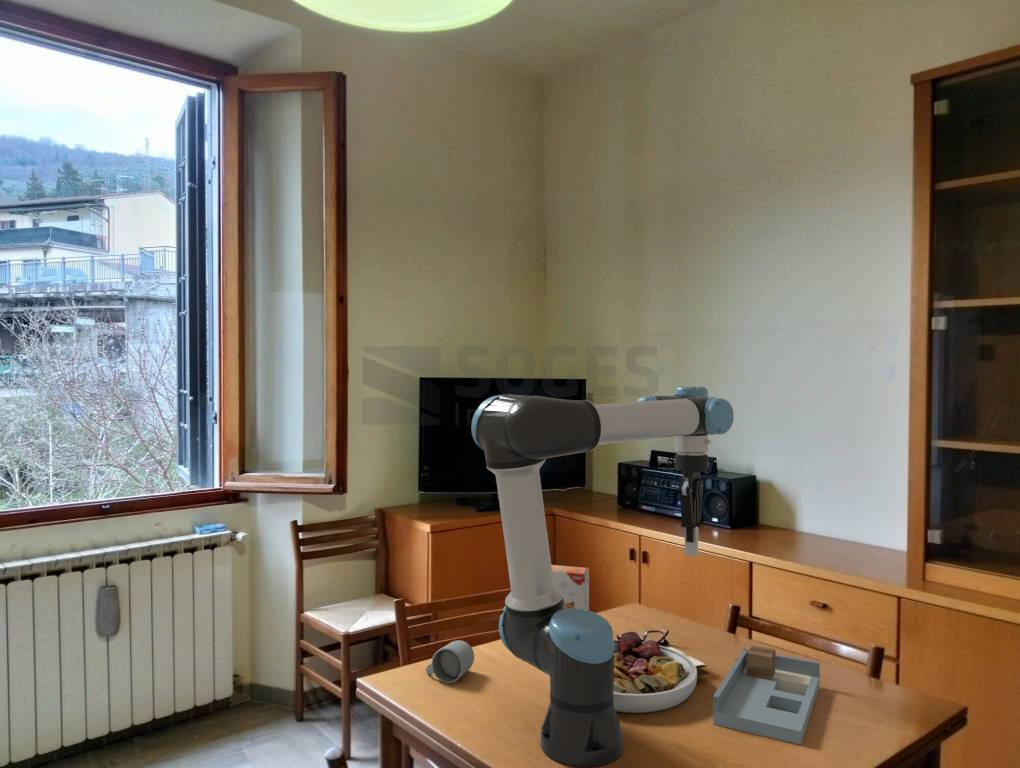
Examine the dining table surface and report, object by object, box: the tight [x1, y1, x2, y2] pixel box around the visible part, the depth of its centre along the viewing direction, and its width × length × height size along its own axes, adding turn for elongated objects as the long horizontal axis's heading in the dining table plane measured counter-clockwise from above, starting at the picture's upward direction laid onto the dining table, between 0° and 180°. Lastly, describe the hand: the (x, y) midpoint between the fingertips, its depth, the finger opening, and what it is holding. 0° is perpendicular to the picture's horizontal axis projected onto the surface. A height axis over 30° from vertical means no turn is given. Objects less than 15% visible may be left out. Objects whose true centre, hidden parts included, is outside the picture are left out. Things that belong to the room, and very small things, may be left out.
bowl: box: [613, 631, 698, 714], centre depth 157 cm, size 30×30×8 cm
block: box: [747, 644, 777, 680], centre depth 158 cm, size 5×5×5 cm
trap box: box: [712, 648, 821, 746], centre depth 148 cm, size 28×16×6 cm, turn 150°
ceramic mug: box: [425, 639, 475, 684], centre depth 163 cm, size 11×8×8 cm
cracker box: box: [551, 564, 590, 611], centre depth 176 cm, size 14×6×21 cm, turn 73°
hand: (691, 555), depth 166 cm, fingers closed
